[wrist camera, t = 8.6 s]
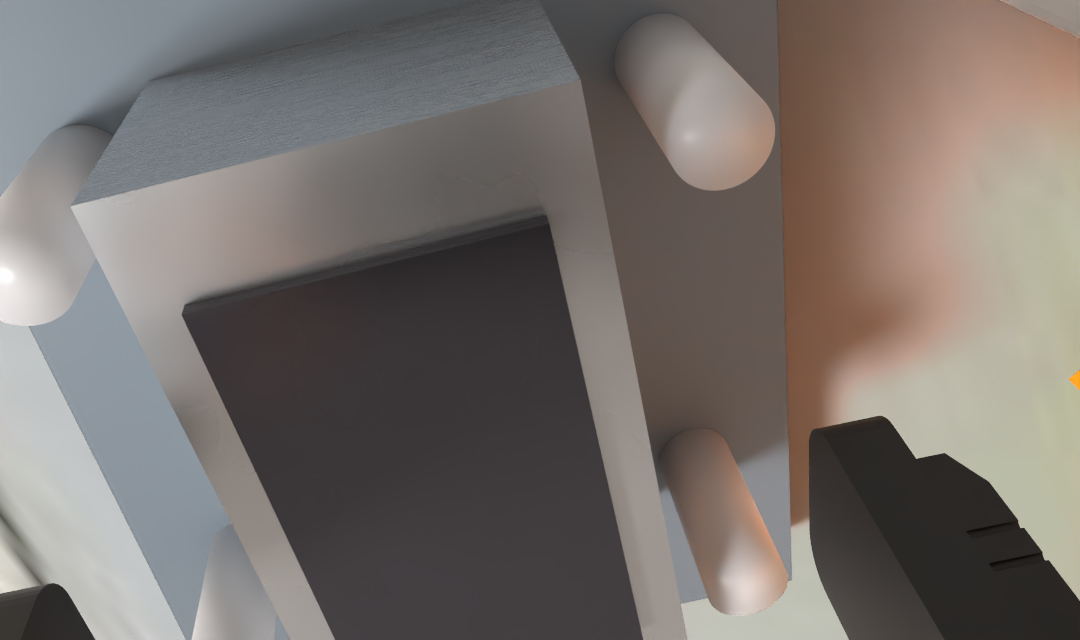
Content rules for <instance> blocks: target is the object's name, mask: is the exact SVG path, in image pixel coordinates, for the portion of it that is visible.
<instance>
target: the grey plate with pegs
mask: <svg viewBox="0 0 1080 640" xmlns="http://www.w3.org/2000/svg"><path fill="white" fill-rule="evenodd" d="M468 1H472V0H0V321H1V322H5V323H8V324H13V325H19V326H29V328H30V330H31V332H32V334H33V336H34V338H35V340H36V342H37V344H38V346H39V348H40V350H41V352H42V354H43V356H44V358H45V360H46V362H47V364H48V366H49V368H50V370H51V372H52V374H53V376H54V378H55V380H56V382H57V384H58V386H59V388H60V390H61V392H62V394H63V396H64V398H65V400H66V402H67V404H68V406H69V408H70V410H71V412H72V414H73V416H74V418H75V420H76V422H77V424H78V426H79V428H80V430H81V432H82V434H83V436H84V438H85V440H86V441H87V443H88V445H89V447H90V449H91V451H92V453H93V455H94V457H95V459H96V461H97V463H98V465H99V467H100V469H101V471H102V473H103V475H104V477H105V479H106V481H107V483H108V485H109V487H110V489H111V491H112V493H113V495H114V497H115V499H116V501H117V503H118V505H119V507H120V509H121V511H122V513H123V515H124V517H125V519H126V521H127V523H128V525H129V527H130V529H131V531H132V533H133V535H134V537H135V539H136V541H137V543H138V545H139V547H140V549H141V551H142V553H143V555H144V557H145V559H146V561H147V563H148V565H149V567H150V569H151V571H152V573H153V575H154V577H155V579H156V581H157V583H158V585H159V587H160V589H161V591H162V593H163V595H164V597H165V599H166V601H167V603H168V605H169V607H170V609H171V611H172V613H173V615H174V617H175V619H176V621H177V623H178V625H179V627H180V629H181V631H182V633H183V635H184V637H185V639H186V640H290V638H289V636H288V634H287V632H286V630H285V628H284V626H283V624H282V622H281V620H280V618H279V616H278V614H277V612H276V610H275V608H274V606H273V604H272V602H271V600H270V598H269V596H268V595H267V593H266V591H265V589H264V587H263V585H262V583H261V581H260V579H259V577H258V575H257V573H256V571H255V569H254V567H253V565H252V563H251V561H250V559H249V557H248V555H247V553H246V551H245V549H244V547H243V545H242V543H241V541H240V539H239V537H238V535H237V534H236V532H235V530H234V528H233V526H232V524H231V522H230V520H229V518H228V516H227V514H226V512H225V510H224V508H223V506H222V504H221V502H220V500H219V498H218V496H217V494H216V492H215V490H214V488H213V486H212V484H211V482H210V480H209V478H208V476H207V475H206V473H205V471H204V469H203V467H202V465H201V463H200V461H199V459H198V457H197V455H196V453H195V451H194V449H193V447H192V445H191V443H190V441H189V439H188V437H187V435H186V433H185V431H184V429H183V427H182V425H181V423H180V421H179V419H178V417H177V415H176V414H175V412H174V410H173V408H172V406H171V404H170V402H169V400H168V398H167V396H166V394H165V392H164V390H163V388H162V386H161V384H160V382H159V380H158V378H157V376H156V374H155V372H154V370H153V368H152V366H151V364H150V362H149V360H148V358H147V356H146V355H145V353H144V351H143V349H142V347H141V345H140V343H139V341H138V339H137V337H136V335H135V333H134V331H133V329H132V327H131V325H130V323H129V321H128V319H127V317H126V315H125V313H124V311H123V309H122V307H121V305H120V303H119V301H118V299H117V297H116V296H115V294H114V292H113V290H112V288H111V286H110V284H109V282H108V280H107V278H106V276H105V274H104V272H103V270H102V268H101V266H100V264H99V262H98V260H97V258H96V256H95V254H94V252H93V250H92V248H91V246H90V244H89V242H88V240H87V238H86V236H85V235H84V233H83V231H82V229H81V227H80V225H79V223H78V221H77V219H76V217H75V215H74V213H73V211H72V209H71V207H70V206H71V204H72V203H73V201H74V199H75V198H76V196H77V195H78V193H79V191H80V190H81V188H82V187H83V185H84V183H85V182H86V180H87V178H88V177H89V175H90V174H91V172H92V170H93V169H94V167H95V166H96V164H97V162H98V161H99V159H100V158H101V156H102V154H103V153H104V151H105V149H106V148H107V146H108V145H109V143H110V141H111V140H112V138H113V137H114V135H115V133H116V132H117V130H118V129H119V127H120V125H121V124H122V122H123V121H124V119H125V117H126V116H127V114H128V112H129V111H130V109H131V108H132V106H133V104H134V103H135V101H136V100H137V98H138V96H139V95H140V93H141V92H142V90H143V88H144V87H145V85H146V83H147V82H148V80H152V79H156V78H160V77H164V76H168V75H172V74H176V73H180V72H184V71H189V70H193V69H197V68H201V67H205V66H209V65H213V64H217V63H221V62H225V61H229V60H233V59H237V58H241V57H245V56H249V55H253V54H257V53H261V52H265V51H270V50H274V49H278V48H282V47H286V46H290V45H294V44H298V43H302V42H306V41H310V40H314V39H318V38H322V37H326V36H330V35H334V34H338V33H342V32H346V31H350V30H355V29H359V28H363V27H367V26H371V25H375V24H379V23H383V22H387V21H391V20H395V19H399V18H403V17H407V16H411V15H415V14H419V13H423V12H427V11H431V10H435V9H440V8H444V7H448V6H452V5H456V4H460V3H464V2H468ZM539 2H540V4H541V6H542V7H543V9H544V11H545V13H546V15H547V17H548V19H549V21H550V23H551V25H552V26H553V28H554V30H555V32H556V34H557V36H558V38H559V40H560V42H561V44H562V46H563V47H564V49H565V51H566V53H567V55H568V57H569V59H570V61H571V63H572V65H573V66H574V68H575V70H576V72H577V74H578V76H579V78H580V80H581V85H582V90H583V95H584V100H585V106H586V111H587V116H588V121H589V126H590V132H591V137H592V142H593V147H594V153H595V158H596V163H597V168H598V174H599V179H600V184H601V189H602V195H603V200H604V205H605V210H606V216H607V221H608V226H609V231H610V237H611V242H612V247H613V252H614V258H615V263H616V268H617V273H618V279H619V284H620V289H621V294H622V300H623V305H624V310H625V315H626V321H627V326H628V331H629V336H630V341H631V347H632V352H633V357H634V362H635V368H636V373H637V378H638V383H639V389H640V394H641V399H642V404H643V410H644V415H645V420H646V425H647V431H648V436H649V441H650V446H651V452H652V457H653V462H654V467H655V473H656V478H657V483H658V488H659V494H660V499H661V504H662V509H663V515H664V520H665V525H666V530H667V536H668V541H669V546H670V551H671V557H672V562H673V567H674V572H675V577H676V583H677V588H678V593H679V598H680V604H681V603H686V602H691V601H695V600H700V599H705V598H708V599H709V601H710V603H711V605H712V606H713V607H714V608H715V609H716V610H718V611H720V612H722V613H724V614H728V615H734V616H742V615H750V614H753V613H757V612H759V611H762V610H764V609H766V608H768V607H769V606H771V605H772V604H774V603H775V602H776V601H777V600H778V599H779V598H780V597H781V596H782V594H783V593H784V591H785V589H786V587H787V583H788V581H790V580H792V562H791V523H790V484H789V445H788V405H787V366H786V327H785V288H784V249H783V210H782V171H781V132H780V92H779V53H778V14H777V0H539Z"/></svg>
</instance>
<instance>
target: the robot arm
mask: <svg viewBox="0 0 1080 640" xmlns="http://www.w3.org/2000/svg"><path fill="white" fill-rule="evenodd" d="M809 509H810V539H811V546H812V551H813V556H814V560H815V564H816V567H817V571H818V574H819V577H820V579H821V582H822V585H823V587H824V589H825V591H826V594H827V596H828V598H829V600H830V602H831V604H832V606H833V608H834V610H835V612H836V614H837V616H838V618H839V620H840V622H841V624H842V626H843V628H844V630H845V632H846V634H847V636H848V638H849V640H1080V601H1079V599H1078V598H1077V597H1076V595H1075V594H1074V593H1073V591H1072V590H1071V589H1070V588H1069V586H1068V585H1067V584H1066V582H1065V581H1064V580H1063V578H1062V577H1061V576H1060V574H1059V573H1058V572H1057V571H1056V569H1055V568H1054V567H1053V565H1052V564H1051V563H1050V561H1049V560H1047V561H1045V560H1044V558H1043V555H1042V551H1041V550H1040V548H1039V547H1038V546H1037V544H1036V543H1035V542H1034V540H1033V539H1032V538H1031V536H1030V535H1029V534H1028V533H1027V531H1026V530H1025V529H1024V528H1020V526H1019V524H1018V519H1017V518H1016V517H1015V516H1014V514H1013V513H1012V512H1011V510H1010V509H1009V508H1008V506H1007V505H1006V504H1005V502H1004V501H1003V500H1002V498H1001V497H1000V496H999V495H998V493H997V492H996V491H995V489H994V488H993V487H992V485H991V484H990V483H989V482H988V481H987V480H985V479H983V478H982V477H980V476H979V475H977V474H976V473H974V472H973V471H971V470H970V469H968V468H967V467H965V466H963V465H962V464H960V463H959V462H957V461H956V460H954V459H953V458H951V457H950V456H948V455H947V454H945V453H943V454H938V455H933V456H929V457H924V458H919V459H916V458H915V457H914V455H913V454H912V452H911V451H910V449H909V448H908V446H907V445H906V444H905V442H904V441H903V439H902V438H901V436H900V435H899V433H898V432H897V431H896V429H895V428H894V426H893V425H892V424H891V422H890V421H889V420H888V419H887V418H885V417H883V416H876V417H871V418H867V419H862V420H857V421H852V422H847V423H842V424H837V425H832V426H828V427H823V428H818V429H814V430H812V432H811V434H810V439H809ZM0 640H95V639H94V637H93V635H92V633H91V632H90V630H89V628H88V627H87V625H86V623H85V622H84V620H83V618H82V616H81V615H80V613H79V611H78V610H77V608H76V606H75V604H74V603H73V601H72V599H71V598H70V596H69V595H68V593H67V592H66V590H65V589H64V588H63V587H61V586H60V585H58V584H54V583H52V584H46V585H41V586H36V587H31V588H26V589H21V590H17V591H12V592H7V593H2V594H0Z"/></svg>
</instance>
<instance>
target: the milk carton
mask: <svg viewBox="0 0 1080 640" xmlns="http://www.w3.org/2000/svg"><path fill="white" fill-rule="evenodd" d="M1000 1H1002V2H1004V3H1006V4H1008V5H1011V6H1013V7H1015V8H1017V9H1019V10H1021V11H1023V12H1025V13H1027V14H1029V15H1031V16H1033V17H1036V18H1038V19H1040V20H1042V21H1044V22H1046V23H1048V24H1050V25H1052V26H1054V27H1056V28H1058V29H1061V30H1063V31H1065V32H1067V33H1069V34H1071V35H1073V36H1075V37H1077V38H1079V39H1080V0H1000Z"/></svg>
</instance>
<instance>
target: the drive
mask: <svg viewBox="0 0 1080 640" xmlns="http://www.w3.org/2000/svg"><path fill="white" fill-rule="evenodd" d="M70 207H71V209H72V211H73V213H74V215H75V217H76V219H77V221H78V223H79V225H80V227H81V229H82V231H83V233H84V235H85V236H86V238H87V240H88V242H89V244H90V246H91V248H92V250H93V252H94V254H95V256H96V258H97V260H98V262H99V264H100V266H101V268H102V270H103V272H104V274H105V276H106V278H107V280H108V282H109V284H110V286H111V288H112V290H113V292H114V294H115V296H116V297H117V299H118V301H119V303H120V305H121V307H122V309H123V311H124V313H125V315H126V317H127V319H128V321H129V323H130V325H131V327H132V329H133V331H134V333H135V335H136V337H137V339H138V341H139V343H140V345H141V347H142V349H143V351H144V353H145V355H146V356H147V358H148V360H149V362H150V364H151V366H152V368H153V370H154V372H155V374H156V376H157V378H158V380H159V382H160V384H161V386H162V388H163V390H164V392H165V394H166V396H167V398H168V400H169V402H170V404H171V406H172V408H173V410H174V412H175V414H176V415H177V417H178V419H179V421H180V423H181V425H182V427H183V429H184V431H185V433H186V435H187V437H188V439H189V441H190V443H191V445H192V447H193V449H194V451H195V453H196V455H197V457H198V459H199V461H200V463H201V465H202V467H203V469H204V471H205V473H206V475H207V476H208V478H209V480H210V482H211V484H212V486H213V488H214V490H215V492H216V494H217V496H218V498H219V500H220V502H221V504H222V506H223V508H224V510H225V512H226V514H227V516H228V518H229V520H230V522H231V524H232V526H233V528H234V530H235V532H236V534H237V535H238V537H239V539H240V541H241V543H242V545H243V547H244V549H245V551H246V553H247V555H248V557H249V559H250V561H251V563H252V565H253V567H254V569H255V571H256V573H257V575H258V577H259V579H260V581H261V583H262V585H263V587H264V589H265V591H266V593H267V595H268V596H269V598H270V600H271V602H272V604H273V606H274V608H275V610H276V612H277V614H278V616H279V618H280V620H281V622H282V624H283V626H284V628H285V630H286V632H287V634H288V636H289V638H290V640H687V635H686V630H685V625H684V619H683V614H682V609H681V604H680V598H679V593H678V588H677V583H676V577H675V572H674V567H673V562H672V557H671V551H670V546H669V541H668V536H667V530H666V525H665V520H664V515H663V509H662V504H661V499H660V494H659V488H658V483H657V478H656V473H655V467H654V462H653V457H652V452H651V446H650V441H649V436H648V431H647V425H646V420H645V415H644V410H643V404H642V399H641V394H640V389H639V383H638V378H637V373H636V368H635V362H634V357H633V352H632V347H631V341H630V336H629V331H628V326H627V321H626V315H625V310H624V305H623V300H622V294H621V289H620V284H619V279H618V273H617V268H616V263H615V258H614V252H613V247H612V242H611V237H610V231H609V226H608V221H607V216H606V210H605V205H604V200H603V195H602V189H601V184H600V179H599V174H598V168H597V163H596V158H595V153H594V147H593V142H592V137H591V132H590V126H589V121H588V116H587V111H586V106H585V100H584V95H583V90H582V85H581V80H580V78H579V76H578V74H577V72H576V70H575V68H574V66H573V65H572V63H571V61H570V59H569V57H568V55H567V53H566V51H565V49H564V47H563V46H562V44H561V42H560V40H559V38H558V36H557V34H556V32H555V30H554V28H553V26H552V25H551V23H550V21H549V19H548V17H547V15H546V13H545V11H544V9H543V7H542V6H541V4H540V2H539V0H472V1H468V2H464V3H460V4H456V5H452V6H448V7H444V8H440V9H435V10H431V11H427V12H423V13H419V14H415V15H411V16H407V17H403V18H399V19H395V20H391V21H387V22H383V23H379V24H375V25H371V26H367V27H363V28H359V29H355V30H350V31H346V32H342V33H338V34H334V35H330V36H326V37H322V38H318V39H314V40H310V41H306V42H302V43H298V44H294V45H290V46H286V47H282V48H278V49H274V50H270V51H265V52H261V53H257V54H253V55H249V56H245V57H241V58H237V59H233V60H229V61H225V62H221V63H217V64H213V65H209V66H205V67H201V68H197V69H193V70H189V71H184V72H180V73H176V74H172V75H168V76H164V77H160V78H156V79H152V80H148V82H147V83H146V85H145V87H144V88H143V90H142V92H141V93H140V95H139V96H138V98H137V100H136V101H135V103H134V104H133V106H132V108H131V109H130V111H129V112H128V114H127V116H126V117H125V119H124V121H123V122H122V124H121V125H120V127H119V129H118V130H117V132H116V133H115V135H114V137H113V138H112V140H111V141H110V143H109V145H108V146H107V148H106V149H105V151H104V153H103V154H102V156H101V158H100V159H99V161H98V162H97V164H96V166H95V167H94V169H93V170H92V172H91V174H90V175H89V177H88V178H87V180H86V182H85V183H84V185H83V187H82V188H81V190H80V191H79V193H78V195H77V196H76V198H75V199H74V201H73V203H72V204H71V206H70Z"/></svg>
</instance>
